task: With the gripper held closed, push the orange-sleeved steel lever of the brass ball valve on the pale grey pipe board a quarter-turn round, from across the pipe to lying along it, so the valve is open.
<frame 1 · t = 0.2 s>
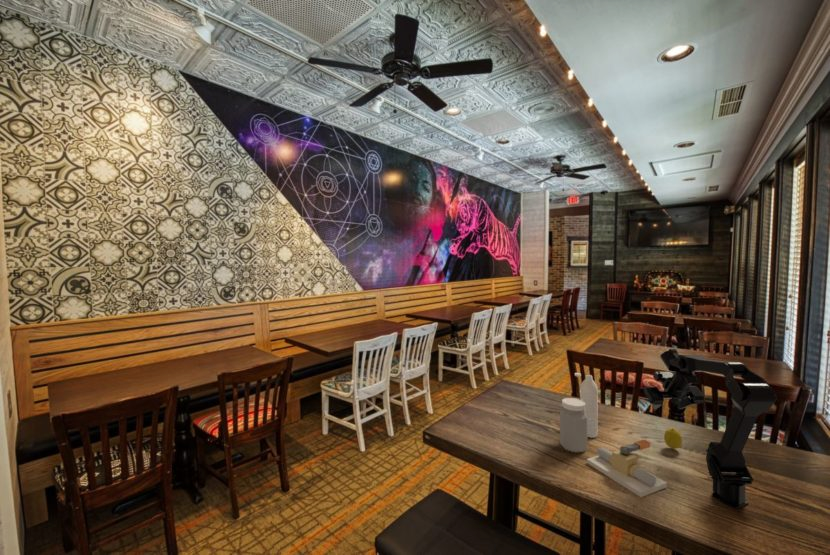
hand: (666, 408, 136), 15 cm above the table, tool tilted 30°, fingers open, 9 cm apart
water bottle: (586, 434, 147), on the table
lever: (634, 447, 120), point 8 cm above the table, hinge at 0.0°
lemon: (672, 449, 134), on the table
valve: (624, 474, 119), on the table
jar: (573, 447, 137), on the table
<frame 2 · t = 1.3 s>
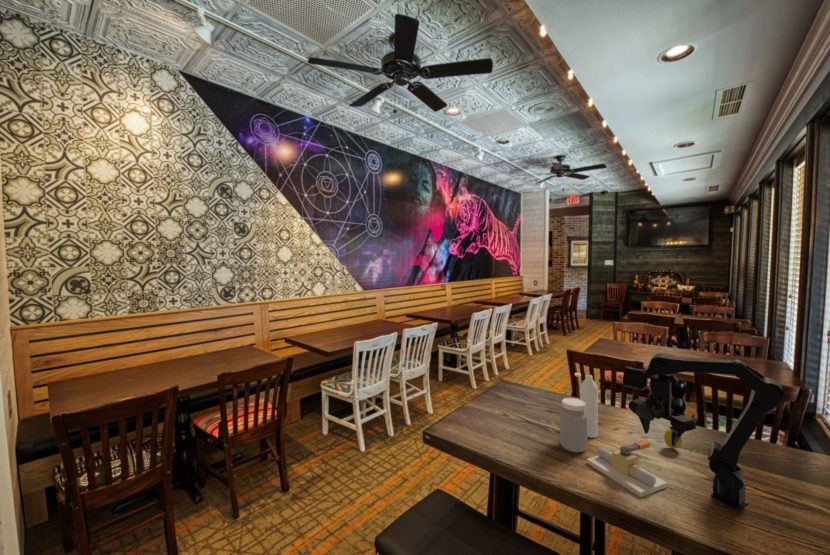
hand: (659, 439, 116), 13 cm above the table, tool pointing down, fingers open, 9 cm apart
nothing on the table moved.
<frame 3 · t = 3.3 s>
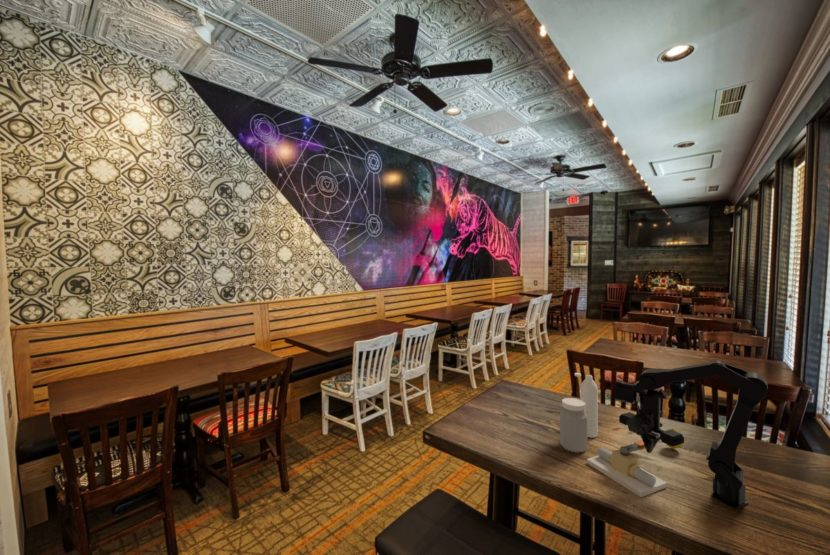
hand: (649, 452, 119), 7 cm above the table, tool pointing down, fingers closed
lever: (634, 447, 120), point 8 cm above the table, hinge at 0.0°, touching gripper
everything else where it was.
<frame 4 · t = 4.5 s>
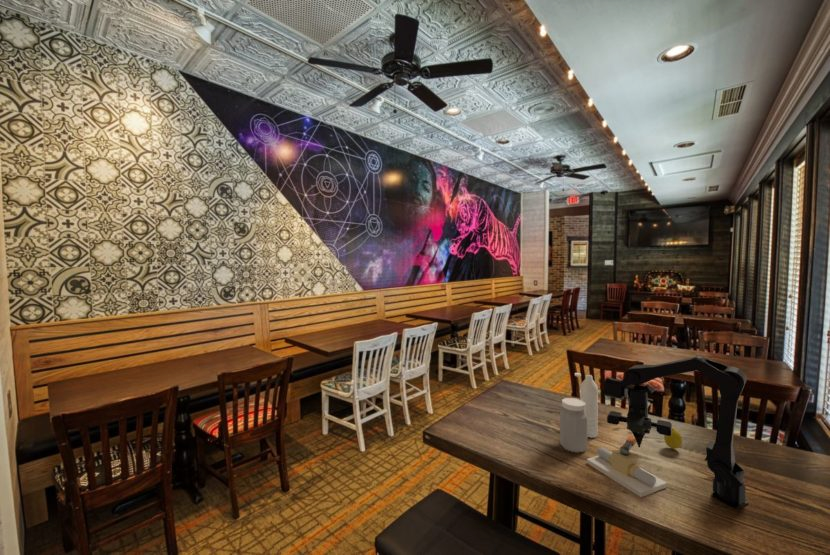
hand: (639, 446, 123), 7 cm above the table, tool pointing down, fingers closed
lever: (628, 445, 122), point 8 cm above the table, hinge at 23.8°, touching gripper
everything else where it was.
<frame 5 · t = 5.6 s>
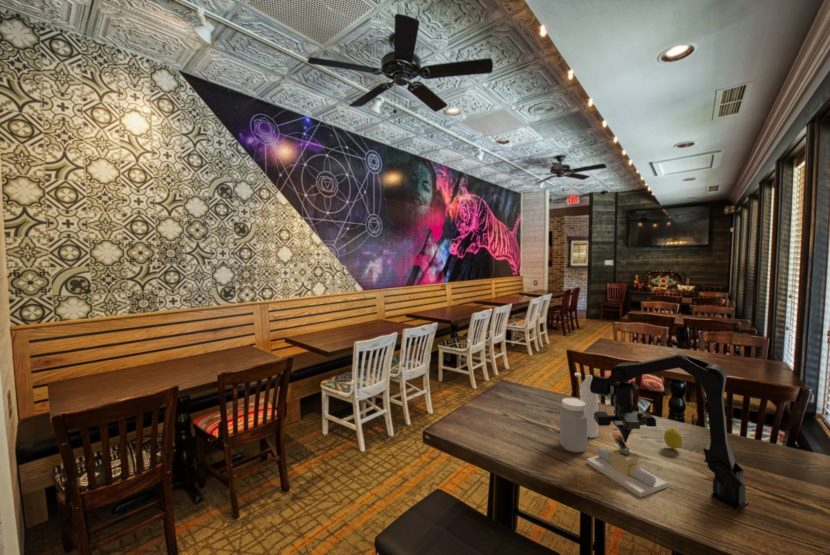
hand: (625, 442, 126), 7 cm above the table, tool pointing down, fingers closed
lever: (620, 443, 123), point 8 cm above the table, hinge at 52.7°, touching gripper
everything else where it was.
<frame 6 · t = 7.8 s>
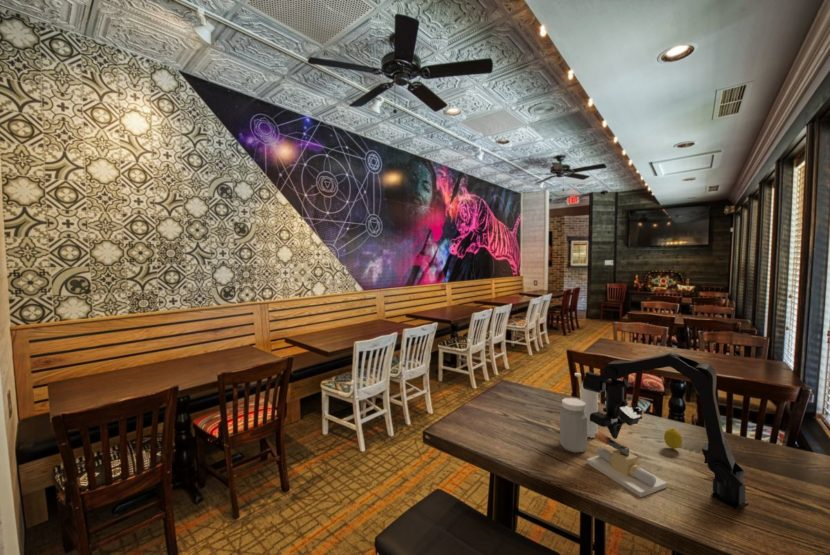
hand: (614, 438, 129), 7 cm above the table, tool pointing down, fingers closed
lever: (612, 443, 123), point 8 cm above the table, hinge at 89.1°
everything else where it was.
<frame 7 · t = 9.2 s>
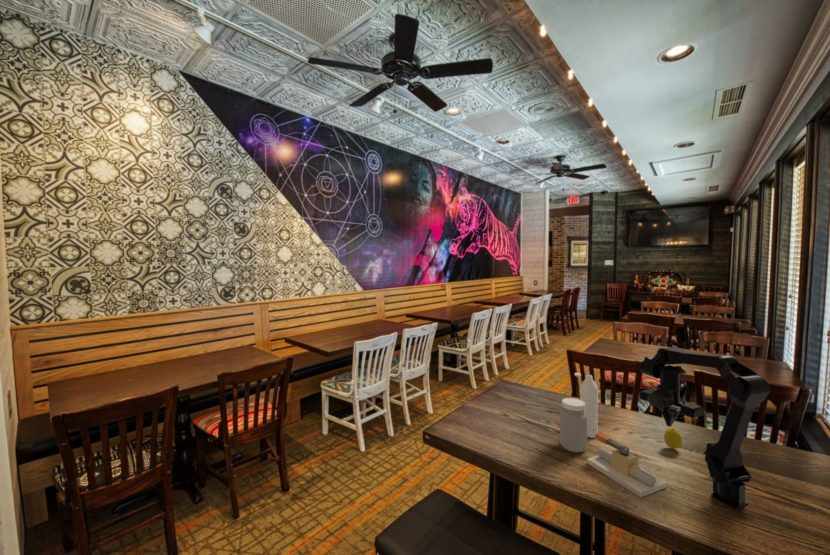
hand: (669, 426, 125), 13 cm above the table, tool pointing down, fingers closed
nothing on the table moved.
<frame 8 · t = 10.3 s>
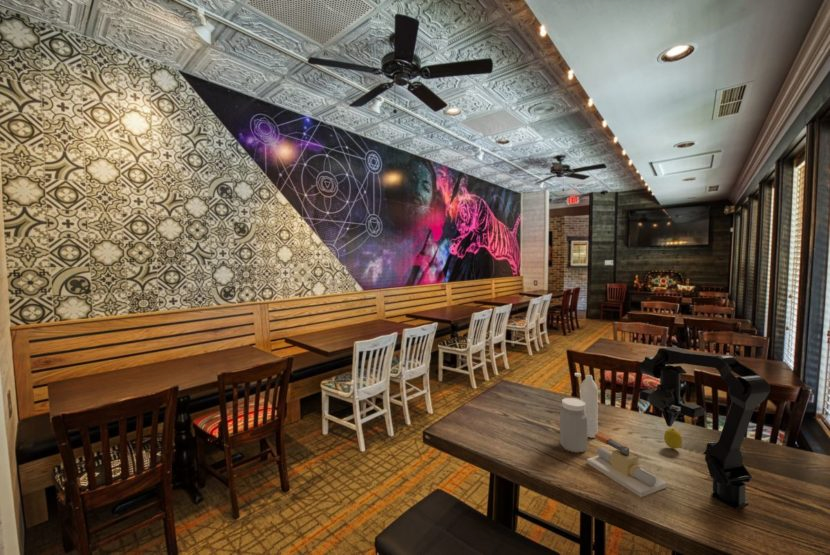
hand: (669, 426, 125), 13 cm above the table, tool pointing down, fingers closed
nothing on the table moved.
at the end: lever at +89° (first picture: +0°); jar moved 0.2 cm from its start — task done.
